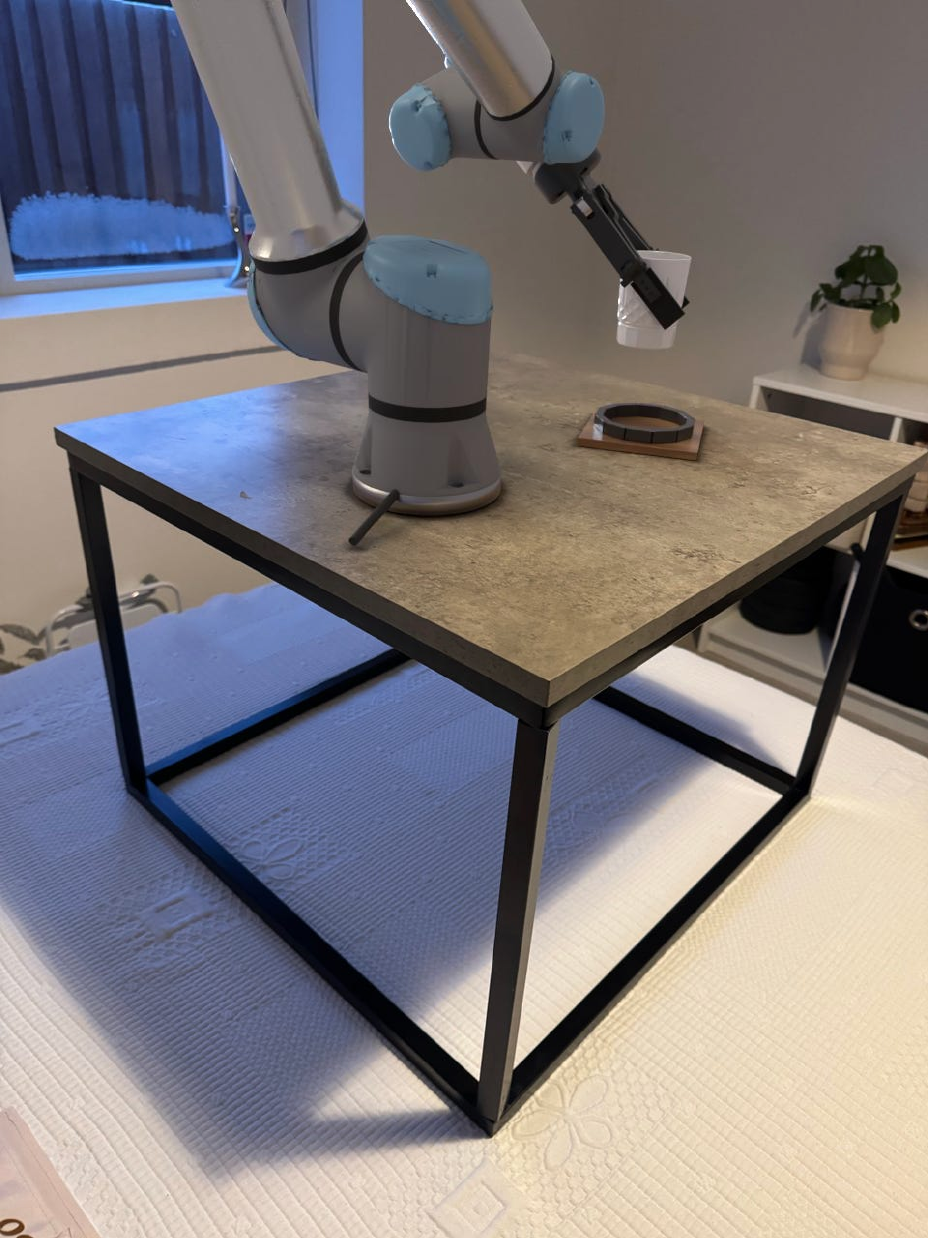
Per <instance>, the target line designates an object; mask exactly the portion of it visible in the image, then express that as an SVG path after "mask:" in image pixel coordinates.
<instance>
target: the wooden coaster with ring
mask: <svg viewBox="0 0 928 1238" xmlns="http://www.w3.org/2000/svg"><path fill="white" fill-rule="evenodd" d="M704 426H705V419H702V418H695V417H694V416H693V415H691V414H689V413H688V412H686V411H684V410H682V409H678V408H673V407H670V406H666V405H662V404H654V403H644V402H620V403H618V402H617V403H616V402H615V403H611V404H608V405H603V406H600V407H596V408H595V410H594V412H593V413H592V414H591V416H590V418H589V419H588V421H587V423H586V424H585V426H584V427H583V428H582V430H581V432H580V433H579V435H578V437H577V440H576V441H577V442H576V446H577V447H586V448H587V447H588V448H592V449H602V450H608V451H609V450H610V451H619V452H627V453H632V454H641V455H648V456H658V457H666V458H673V459H679V460H680V459H681V460H690V461H696V460H697V458H698V453H699V448H700V443H701V439H702V434H703V431H704Z"/></svg>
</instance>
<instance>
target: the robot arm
mask: <svg viewBox="0 0 928 1238" xmlns="http://www.w3.org/2000/svg"><path fill="white" fill-rule="evenodd" d="M169 1H170V3H171V6H172V9H173V11H174V13H175V16H176V19H177V22H178V24H179V27H180V29H181V32H182V34H183V38H184V40H185V42H186V45H187V48H188V51H189V54H190V55H191V59H192V60H193V61H192V62H193V63H194V66H195V69H196V71H197V74H198V76H199V79H200V81H201V84H202V88H203V89H204V93H205V95H206V98H207V100H208V103H209V105H210V108H211V110H212V114H213V116H214V118H215V121H216V124H217V127H218V129H219V132H220V135H221V137H222V139H223V142H224V145H225V148H226V150H227V152H228V155H229V158H230V160H231V163H232V166H233V169H234V171H235V173H236V176H237V178H238V179H237V180H238V181H239V184H240V187H241V190H242V192H243V194H244V197H245V200H246V202H247V205H248V209H249V211H250V213H251V216H252V219H253V221H254V224H255V226H254V227H255V228H254V230H253V233H252V235H251V237H250V238H249V241H248V246H247V247H248V250H249V254H250V257H251V262H250V265H249V269H248V273H249V275H250V279H249V281H247V282H246V294H247V301H248V305H249V309H250V311H251V314H252V317H253V319H254V320H255V323H256V324H257V327H258V328H259V329H260V330H261V332H262V333H263V334H264V336H265V337H266V338H267V339H268V340H270V342H272V343H273V344H274V345H275V346H277V347H279V348H281V349H282V350H285V351H287V352H289V353H291V354H293V355H295V356H297V357H299V358H303V359H307V360H308V361H312V362H313V361H314V362H324V363H327V364H331V365H335V366H338V367H342V368H346V369H350V370H354V371H357V372H360V373H363V374H364V373H365V374H367V390H368V391H367V392H368V396H367V397H368V413H367V414H368V415H367V418H366V422H365V425H364V429H363V432H362V435H361V439H360V443H359V445H358V449H357V452H356V455H355V459H354V462H353V465H352V468H351V480H352V483H351V484H352V491H353V493H354V494H355V496H356V497H357V498H358V499H359V500H361V501H362V502H364V503H366V504H368V505H370V506H372V507H375V508H374V509H373V511H372V512H371V513H370V514H369V515H368V517H366V518H365V520H364V521H363V522H362V523H361V524H360V525H359V526H358V528H357V529H355V531H354V532H353V533H352V534H351V535H350V536H349V538H348V539H347V540H348V541H347V542H348V543H349V545H350V546H352V547H355V546H357V545H359V543H360V542H361V540H363V539H364V537H365V536H366V535H367V534H368V533H369V531H370V530H371V529H372V528H373V527H374V526H375V525H376V523H377V522H378V521H379V520H380V519H381V518H382V517H383V515H384V514H386V512H387V511H388V512H393V513H399V514H405V515H416V516H445V515H453V514H455V515H456V514H461V513H467V512H470V511H474V510H477V509H480V508H483V507H485V506H487V505H489V504H491V503H493V502H494V501H495V500H496V499H497V498H498V497H499V496H500V495H501V494H500V493H501V484H502V470H501V466H500V462H499V460H498V455H497V451H496V448H495V444H494V440H493V438H492V433H491V429H490V426H489V423H488V417H487V405H488V404H487V399H488V387H489V386H488V383H489V367H490V366H489V365H490V351H491V333H492V316H493V312H494V303H493V302H494V301H493V298H492V297H493V296H492V272H491V268H490V266H489V263H488V262H487V260H486V258H485V257H483V255H481V254H480V253H478V252H477V251H475V250H474V249H472V248H469V247H468V246H467V247H466V246H465V245H462V244H458V243H455V242H451V241H447V240H443V239H439V238H428V237H427V238H426V237H423V236H418V235H407V234H388V235H380V236H377V237H374V238H372V239H371V237H370V233H369V229H368V227H367V224H366V220H365V217H364V213H363V211H362V209H361V208H360V207H359V206H357V205H355V204H353V203H352V202H350V201H349V200H347V199H344V197H342V194H341V190H340V188H339V184H338V182H337V177H336V173H335V171H334V168H333V165H332V162H331V161H332V160H331V159H330V155H329V152H328V149H327V145H326V142H325V138H324V134H323V132H322V129H321V125H320V122H319V118H318V116H317V113H316V109H315V106H314V101H313V99H312V95H311V93H310V90H309V86H308V83H307V79H306V76H305V73H304V70H303V67H302V63H301V59H300V56H299V53H298V50H297V46H296V43H295V39H294V36H293V33H292V30H291V27H290V24H289V20H288V18H287V17H288V16H287V15H286V11H285V7H284V4H283V0H169ZM405 1H406V2H407V3H408V5H409V6H410V8H411V9H412V10H413V12H414V13H415V15H416V16H417V18H418V19H419V20H420V21H421V24H422V25H423V26H424V27H425V29H426V30H427V32H428V33H429V34H430V36H431V37H432V39H433V40H434V41H435V43H436V44H437V45H438V47H439V48H440V50H441V51H442V52H443V54H444V55H445V56H444V66H445V68H444V69H442V70H441V71H438V72H437V73H435V74H433V75H432V76H430V77H428V78H427V79H425V80H424V81H421V82H420V83H418V82H416V83H415V84H414V85H412V86H411V88H410V89H409V90H407V91H406V92H405V93H403V94H402V95H401V96H399V97H398V98H397V99H396V100H395V101H394V102H393V104H392V106H391V109H390V113H389V118H388V127H389V132H390V136H391V139H392V144H393V146H394V148H395V150H396V152H397V154H398V155H399V156H400V158H401V159H402V160H403V161H404V162H405V163H406V165H408V166H409V167H410V168H412V169H414V170H415V171H419V172H423V173H427V172H432V171H434V170H435V169H438V168H439V167H444V166H445V165H448V163H449V162H450V160H453V159H472V160H473V159H475V160H490V161H491V160H492V161H494V160H495V161H499V160H500V161H502V160H503V161H514V162H516V163H517V165H518V166H519V167H520V169H521V170H522V171H523V172H524V174H525V175H527V176H528V175H529V176H530V175H533V178H532V180H533V181H532V183H533V184H534V186H535V187H536V188H537V190H538V191H539V193H540V194H541V195H542V196H543V197H544V199H545V200H546V202H547V203H548V204H550V205H556V204H558V203H559V202H560V201H562V200H564V199H565V197H567V196H568V197H569V199H570V200H571V203H572V204H571V205H570V206H569V209H570V212H571V213H572V214H573V215H574V216H575V217H576V218H577V219H578V221H579V222H580V223H581V225H582V226H583V227H584V229H585V230H586V231H587V233H588V234H589V236H590V237H591V238H592V239H593V241H594V242H595V244H596V245H597V246H598V248H599V249H600V251H601V252H602V253H603V255H604V256H605V257H606V259H607V260H608V262H609V263H610V265H611V266H612V267H613V269H614V270H615V271H616V273H617V274H618V278H619V279H620V278H621V279H622V281H621V282H620V281H619V285H620V284H621V285H622V286H623V287H624V288H625V287H627V286H628V285H629V284H630V283H631V282H632V281H633V282H632V283H631V284H630V285H631V286H632V287H633V289H634V290H635V291H636V293H637V294H638V295H639V297H640V298H641V299H642V301H643V302H644V303H645V305H646V306H647V307H648V308H649V310H650V311H651V312H652V314H653V315H654V316H655V318H656V319H657V320H658V322H659V323H660V324H661V326H662V327H663V328H664V330H666V329H667V328H669V327H670V326H671V325H672V324H673V323H675V322H676V321H677V320H678V319H679V320H680V319H681V318H682V317H684V316H685V315H686V312H685V311H684V310H683V309H684V308H685V307H687V306H688V305H689V304H690V303H691V302H690V300H689V299H688V297H687V296H686V294H684V299H683V304H682V307H680V306H679V304H678V303H677V302H676V300H675V299H674V298H673V296H672V295H671V294H670V292H669V291H668V290H667V288H666V287H665V286H664V284H663V283H662V282H661V280H660V279H659V278H658V276H657V275H656V274H655V273H654V271H653V270H652V269H651V267H649V268H648V269H647V264H646V263H645V262H644V261H643V260H642V258H641V257H640V255H639V254H638V252H637V251H639V250H643V251H661V250H660V249H659V248H658V247H657V248H656V249H654V247H653V246H652V245H650V244H649V242H648V240H646V238H645V237H644V236H643V234H642V233H641V232H640V231H639V229H638V228H637V227H636V226H635V225H634V223H633V222H632V220H631V219H630V218H629V217H628V215H627V214H626V213H625V211H624V210H623V208H622V207H621V206H620V205H619V203H618V202H617V201H616V200H615V199H614V197H613V196H612V193H611V190H610V189H609V187H607V185H605V183H603V182H602V183H599V184H598V183H597V182H596V181H595V180H594V179H593V177H592V176H591V172H592V171H593V170H595V168H596V167H598V165H599V164H600V162H601V161H602V153H601V151H599V149H598V148H597V146H598V142H599V139H600V138H601V136H602V134H603V130H604V125H605V116H606V106H605V97H604V92H603V90H602V88H601V85H600V84H599V82H598V81H597V79H596V78H595V77H593V76H591V74H588V73H585V72H584V73H582V72H577V71H576V70H573V69H572V70H568V71H567V72H564V71H563V70H562V69H561V68H560V66H559V64H558V62H557V61H556V59H555V57H554V55H553V54H552V53H551V51H550V49H549V47H548V45H547V43H546V42H545V40H544V38H543V37H542V35H541V33H540V31H539V30H538V27H537V26H536V24H535V22H534V20H533V19H532V17H531V16H530V14H529V12H528V10H527V8H526V7H525V5H524V4H523V2H522V0H405ZM646 269H647V270H646ZM645 270H646V271H645ZM679 320H678V321H679Z"/></svg>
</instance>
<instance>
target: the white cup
mask: <svg viewBox="0 0 928 1238" xmlns="http://www.w3.org/2000/svg"><path fill="white" fill-rule="evenodd" d="M637 252H638V254H639V255H640V257H641V258H642V260H643V261H644V262H645V263H646V264H647V269H648V268H649V267H651V269H652V270H653V271H654V273H655V274H656V275H657V276H658V278H659V279H660V280H661V282H662V283H663V284H664V286H665V287H666V288H667V290H668V291H669V292H670V294H671V295H672V296H673V298H674V299H675V300H676V302H677V303H678V304H679V306H680V307H682V304H683V299H684V295H686V290H687V289H686V288H687V285H688V278H689V275H690V274H689V273H690V269H691V264H692V259H693V257H692V256H691V255H688V254H684V253H679V252H671V251H664V250H663V251H662V250H660V251H655V250H654V251H643V250H639V251H637ZM647 269H646V270H647ZM646 270H645V271H646ZM621 281H622V279H621V278H620V277H619V287H618V304H617V305H618V306H617V320H618V321H617V329H616V342H617V343H618V345H621V346H623V347H628V348H633V349H638V350H653V351H654V350H665V349H670V348H671V347H673V346H674V344H675V338H676V332H677V328H678V327H677V325H678V323H679V320H680V319H678V320H677V321H676V322H675V323H673V324H672V325H671V326H670V327H669V328H667V329H666V330H664V328H663V327H662V326H661V324H660V323H659V322H658V320H657V319H656V318H655V316H654V315H653V314H652V312H651V311H650V310H649V308H648V307H647V306H646V305H645V303H644V302H643V301H642V299H641V298H640V297H639V295H638V294H637V293H636V291H635V290H634V289H633V287H632V286H631V285H630V284H631V283H632V282H633V281H632V282H631V283H630V284H629V285H628V286H627V287H625V288H624V287H623V286H622V285H621V284H620V282H621Z"/></svg>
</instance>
